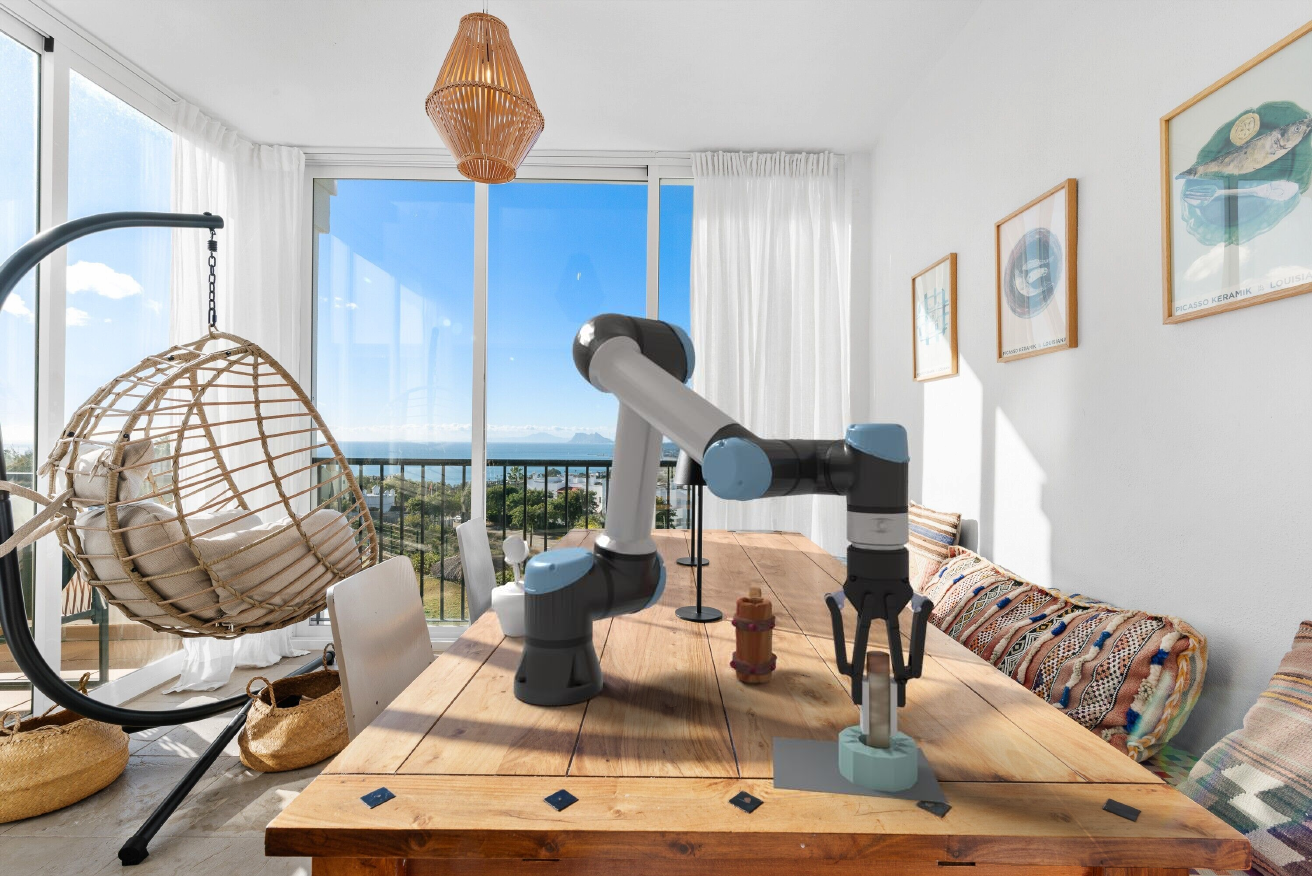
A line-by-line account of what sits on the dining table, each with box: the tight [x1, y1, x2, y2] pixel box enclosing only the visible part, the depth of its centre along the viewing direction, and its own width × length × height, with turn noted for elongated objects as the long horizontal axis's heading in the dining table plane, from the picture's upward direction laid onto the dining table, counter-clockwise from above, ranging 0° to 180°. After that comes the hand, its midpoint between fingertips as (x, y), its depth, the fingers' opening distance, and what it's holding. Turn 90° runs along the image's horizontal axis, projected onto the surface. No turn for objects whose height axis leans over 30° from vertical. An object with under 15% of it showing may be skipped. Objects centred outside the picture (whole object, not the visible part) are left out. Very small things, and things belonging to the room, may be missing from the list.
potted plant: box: [491, 525, 541, 638], centre depth 148 cm, size 13×12×25 cm
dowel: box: [865, 650, 891, 749], centre depth 84 cm, size 3×3×15 cm
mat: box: [771, 736, 949, 804], centre depth 86 cm, size 20×14×1 cm
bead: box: [838, 724, 919, 792], centre depth 84 cm, size 9×9×4 cm
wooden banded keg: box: [729, 586, 778, 685], centre depth 121 cm, size 15×8×15 cm, turn 168°
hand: (878, 730), depth 84 cm, fingers closed on dowel, 3 cm apart
